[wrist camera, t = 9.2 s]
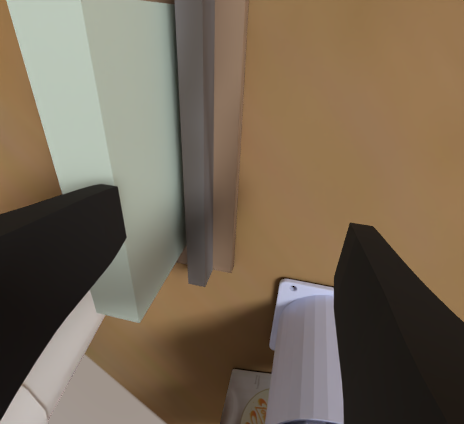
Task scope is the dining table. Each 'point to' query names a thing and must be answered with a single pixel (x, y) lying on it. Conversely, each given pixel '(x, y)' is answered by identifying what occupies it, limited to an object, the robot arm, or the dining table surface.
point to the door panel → (113, 126)
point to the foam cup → (55, 366)
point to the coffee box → (246, 398)
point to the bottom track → (210, 127)
